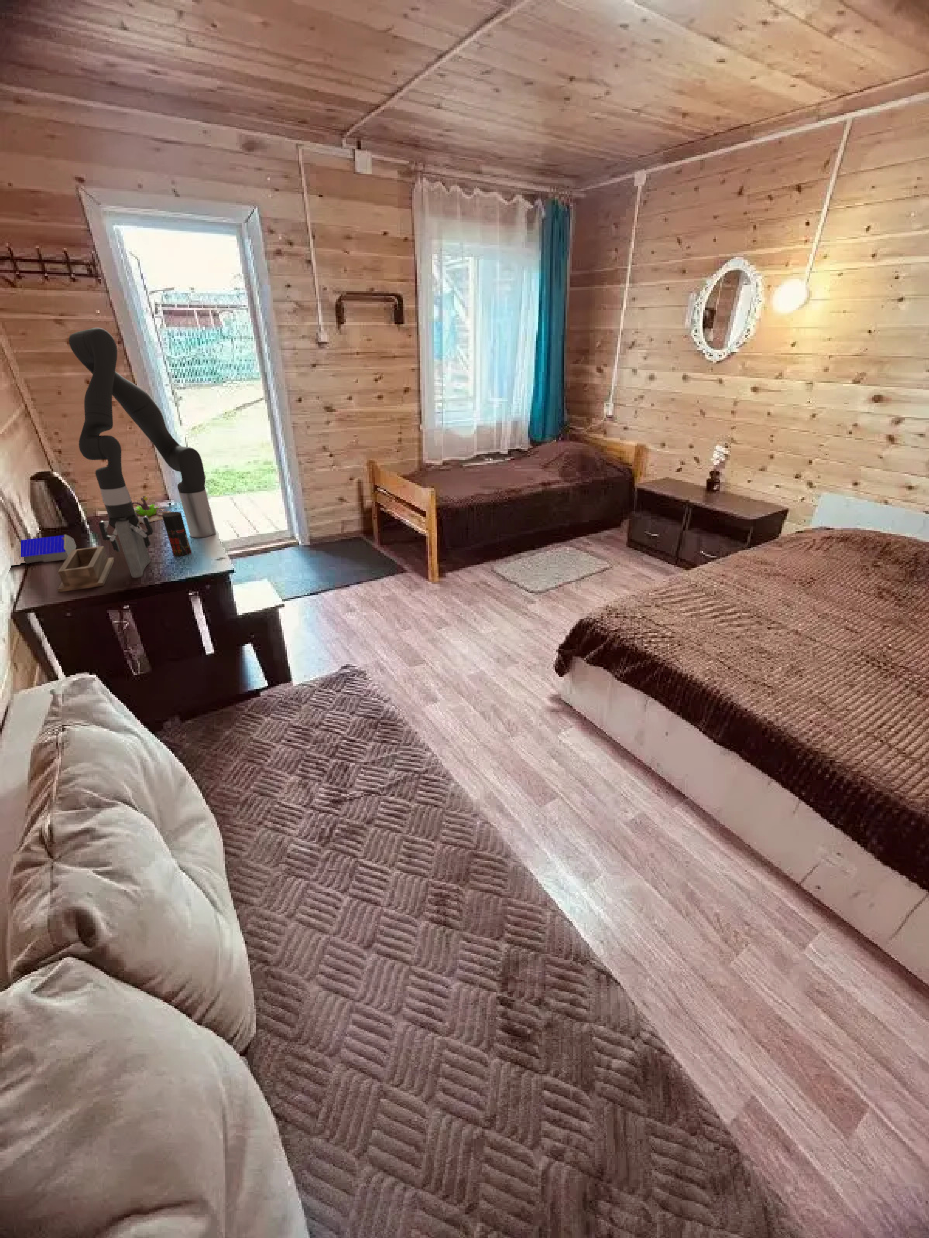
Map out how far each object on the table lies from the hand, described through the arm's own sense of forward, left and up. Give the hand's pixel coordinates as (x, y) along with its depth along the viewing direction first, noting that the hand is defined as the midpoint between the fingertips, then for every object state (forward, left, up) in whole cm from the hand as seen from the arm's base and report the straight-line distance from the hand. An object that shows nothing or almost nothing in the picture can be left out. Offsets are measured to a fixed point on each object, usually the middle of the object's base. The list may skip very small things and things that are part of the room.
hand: (133, 549), depth 174 cm
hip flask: (0, 0, -7) cm, 7 cm away
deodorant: (-13, -9, -7) cm, 17 cm away
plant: (+2, -61, -8) cm, 62 cm away
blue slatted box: (+35, -27, -8) cm, 45 cm away
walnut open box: (+15, -1, -7) cm, 17 cm away
